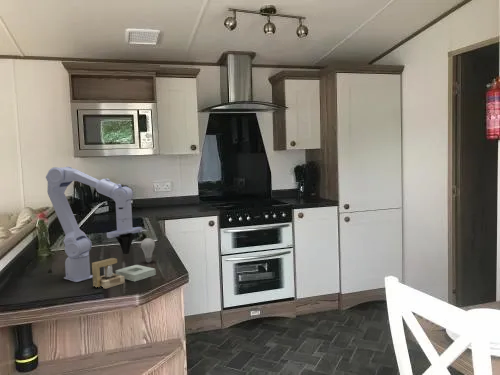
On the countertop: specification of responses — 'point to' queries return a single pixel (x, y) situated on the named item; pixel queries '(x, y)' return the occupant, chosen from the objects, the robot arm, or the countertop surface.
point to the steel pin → (108, 272)
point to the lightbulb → (148, 248)
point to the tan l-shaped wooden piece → (96, 269)
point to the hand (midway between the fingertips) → (126, 253)
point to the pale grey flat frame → (136, 272)
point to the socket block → (111, 281)
